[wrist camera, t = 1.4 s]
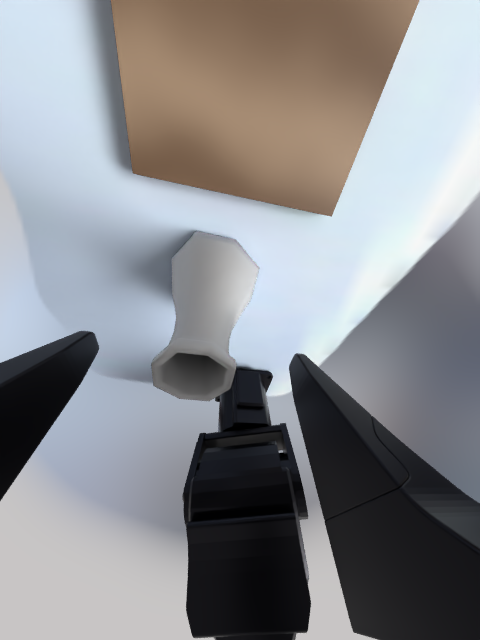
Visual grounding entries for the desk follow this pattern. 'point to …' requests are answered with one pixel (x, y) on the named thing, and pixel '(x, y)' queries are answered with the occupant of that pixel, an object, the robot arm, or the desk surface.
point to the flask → (204, 316)
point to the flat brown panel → (255, 91)
